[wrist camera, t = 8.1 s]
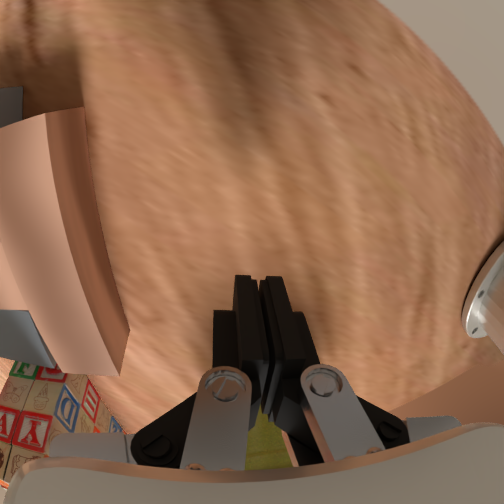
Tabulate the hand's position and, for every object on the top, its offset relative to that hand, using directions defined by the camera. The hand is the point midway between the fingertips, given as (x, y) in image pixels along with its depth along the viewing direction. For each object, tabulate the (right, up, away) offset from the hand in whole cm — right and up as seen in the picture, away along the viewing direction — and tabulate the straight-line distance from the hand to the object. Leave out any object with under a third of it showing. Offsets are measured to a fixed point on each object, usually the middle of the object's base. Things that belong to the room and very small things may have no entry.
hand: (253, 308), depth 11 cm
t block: (-15, +3, +3) cm, 15 cm away
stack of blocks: (-17, -15, +13) cm, 26 cm away
